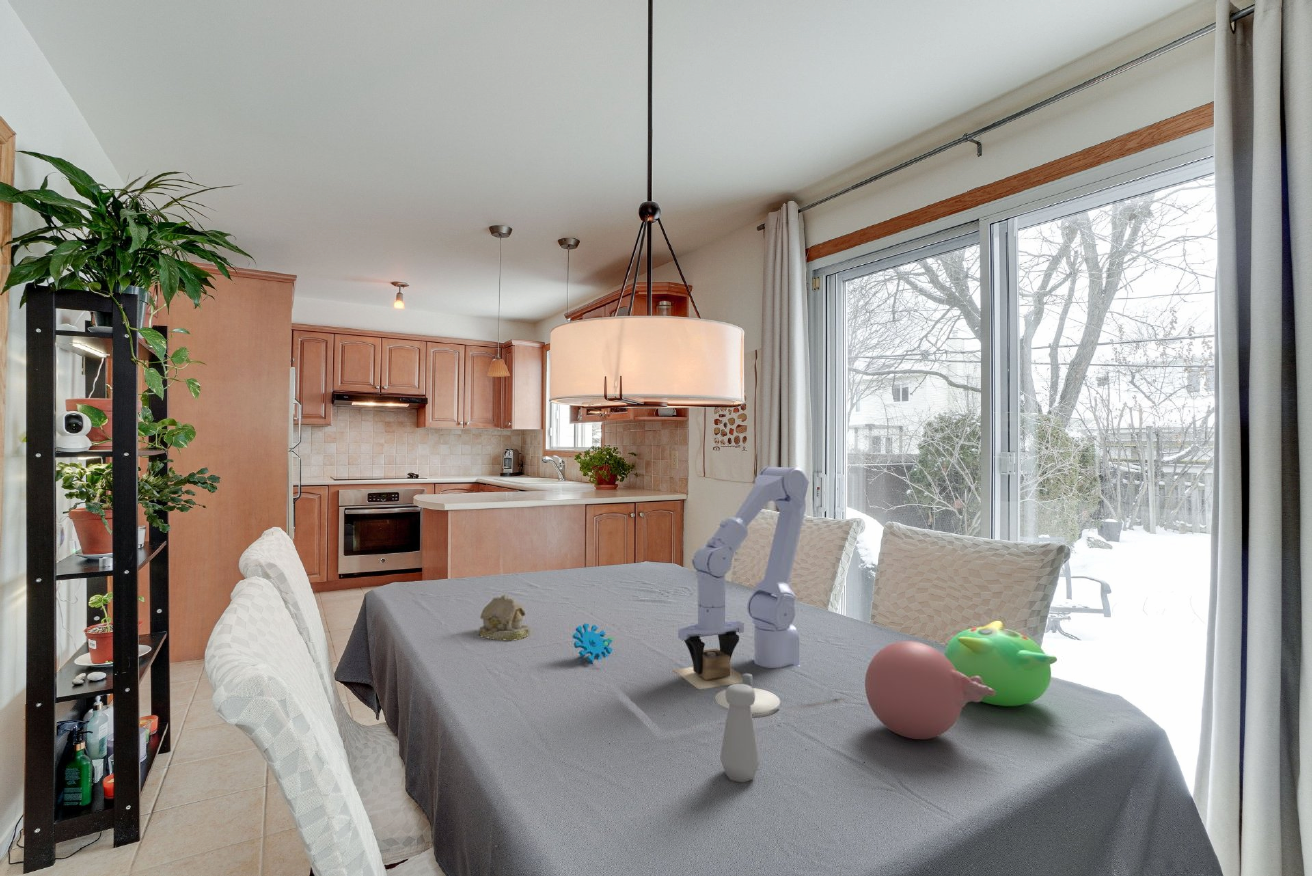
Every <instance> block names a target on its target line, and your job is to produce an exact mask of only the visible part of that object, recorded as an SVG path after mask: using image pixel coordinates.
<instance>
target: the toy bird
mask: <svg viewBox="0 0 1312 876" xmlns="http://www.w3.org/2000/svg"><path fill="white" fill-rule="evenodd" d="M1003 624H1004V623H1003V622H1002V621H1000V620H995V621H992V622H989V623H987V624H986V625H984V626H976V627H975V626H974V627H972V628H971V627H970V628H967V629H964V630H962V631H960V632H959V633H957V634H955V635H954V636H953V637H952V638H951V640H950V641H949V642H948V643H947V646H946V648H945V651H944V656H945V657H946V658H947V659H948V660H949V661H950V662H951V663H952V665H953V666H954V668H955V669H956V671H958V672H960V673H962V674H964V675H965V676H967V677H968V678H971V677H973V676H979V677H981V679H982V681H983V683H984V684H985V686H987V687H989V688H992V689H993V690H994V691H995V695H994V696H986V695H984V696H983V698H982V700H981V701H980V702H982V703H985V704H989V705H993V706H1000V707H1018V706H1023V705H1027V704H1029V703H1032V702H1034V701H1036V700H1038V699H1039V698H1041V697H1042V696H1043V695H1044V694H1045V692H1046V691H1047V690H1048V688H1049V686H1050V685H1051V684H1050V683H1051V677H1052V670H1051V665H1052V664H1055V663H1056V662H1057V661H1058V658H1057V657H1056V656H1054V655H1052V654H1049V653H1046V652H1045V651H1044V650H1043V649H1042V648H1041V646H1039V644H1038V643H1036V642H1035V641H1034V640H1033V639H1031V638H1030V637H1029V636H1026V635H1024V634H1022V633H1021V632H1017V631H1015V630H1012V629H1008V628H1005V627H1004V625H1003Z"/></svg>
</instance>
